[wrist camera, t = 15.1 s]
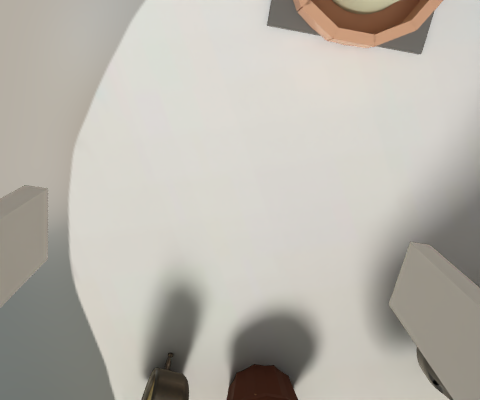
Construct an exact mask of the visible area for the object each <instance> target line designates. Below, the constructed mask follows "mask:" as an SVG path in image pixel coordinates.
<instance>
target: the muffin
mask: <svg viewBox="0 0 480 400" xmlns="http://www.w3.org/2000/svg"><path fill="white" fill-rule="evenodd" d="M227 400H298V399H297V396H296V394H295V391H294V389H293V386H292V384H291V381H290V379H289V376H288V375H286V374H285V373H283V372H281V371H280V370H279V369H277V368H276V367H275V366H274V365H272V366H263V365H255V364H254V365H252V366H250V367H249V368H247V369H245V370H243V371H240V372H237V373H236V376H235V378H234V381H233V382H232V384H231V385H230V387H229V390H228V395H227Z"/></svg>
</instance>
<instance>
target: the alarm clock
mask: <svg viewBox="0 0 480 400" xmlns="http://www.w3.org/2000/svg"><path fill="white" fill-rule="evenodd" d="M172 357H173V354H172V353H169V354H168V359H167V361H166V364H165V368H164V369H161V368H155V369H154V370H153V371H152V373H151V375H150V377H149V380H148V382H147V385H146V388H145V391H144V394H143V397H142V400H189V386H188V381H187V379H186V377H185V376H184V375H183V374H181V373H177V372H173V371H170V366H171V358H172Z"/></svg>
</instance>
